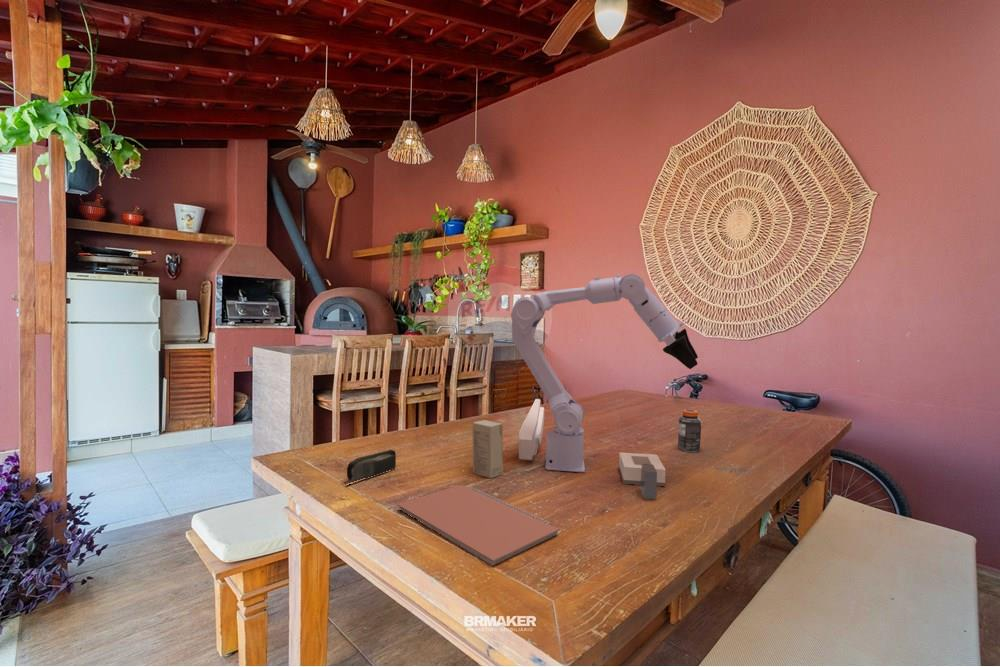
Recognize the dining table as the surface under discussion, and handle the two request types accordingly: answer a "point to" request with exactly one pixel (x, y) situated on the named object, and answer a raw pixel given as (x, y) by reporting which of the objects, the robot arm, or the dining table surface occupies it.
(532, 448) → the shelf bracket
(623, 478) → the post block
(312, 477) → the dining table surface
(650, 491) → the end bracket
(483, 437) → the skincare box
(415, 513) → the notebook
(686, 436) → the pill bottle
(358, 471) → the black rounded block
